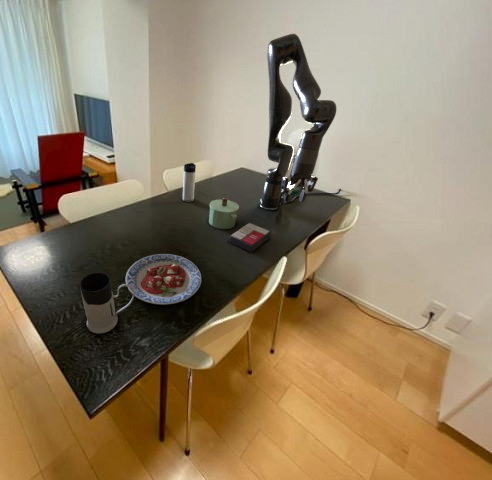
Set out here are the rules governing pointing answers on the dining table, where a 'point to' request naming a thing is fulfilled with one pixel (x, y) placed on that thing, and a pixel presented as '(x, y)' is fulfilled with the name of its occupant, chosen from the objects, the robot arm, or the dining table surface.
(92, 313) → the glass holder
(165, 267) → the ceramic plate
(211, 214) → the pot
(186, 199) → the travel mug
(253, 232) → the black square box
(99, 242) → the dining table surface
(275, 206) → the robot arm
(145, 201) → the dining table surface
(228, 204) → the pot lid
